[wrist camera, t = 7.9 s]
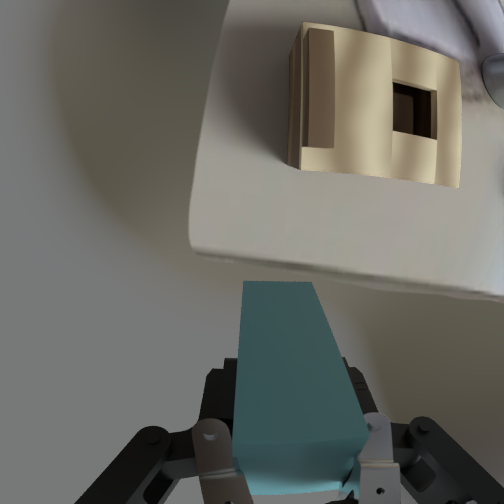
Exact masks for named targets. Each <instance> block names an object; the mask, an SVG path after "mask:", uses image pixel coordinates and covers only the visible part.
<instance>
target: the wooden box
mask: <svg viewBox="0 0 504 504" xmlns="http://www.w3.org/2000/svg"><path fill="white" fill-rule="evenodd" d="M392 85H393V131H396V132H402V133H407V134H412V135H416V136H421V137H425V138H430V139H431V92H429V91H426V90H422V89H419V88H415V87H412V86H408V85H404V84H400V83H396V82H392ZM300 114H301V28H300V30H299V32H298V35H297V37H296V40H295V42H294V45H293V47H292V50H291V52H290V55H289V122H288V157H287V165H289V166H291V167H294V168H297V169H299V150H300Z"/></svg>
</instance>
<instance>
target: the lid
mask: <svg viewBox="0 0 504 504" xmlns="http://www.w3.org/2000/svg"><path fill="white" fill-rule="evenodd" d="M392 82H396V83H400V84H404V85H408V86H412V87H415V88H419V89H422V90H426V91H429V92H431V139H430V138H425V137H421V136H416V135H412V134H407V133H402V132H396V131H393V85H392ZM461 147H462V102H461V84H460V72H459V62H458V61H456V60H453V59H451V58H448V57H446V56H443V55H441V54H438V53H435V52H433V51H430V50H427V49H424V48H421V47H418V46H415V45H412V44H409V43H406V42H402V41H399V40H395V39H392V38H388V37H384V36H380V35H376V34H372V33H368V32H363V31H358V30H353V29H348V28H343V27H337V26H331V25H324V24H316V23H308V22H302V25H301V114H300V150H299V170H308V171H323V172H336V173H348V174H359V175H369V176H378V177H386V178H395V179H402V180H410V181H417V182H424V183H430V184H437V185H443V186H449V187H454V188H459V179H460V166H461Z"/></svg>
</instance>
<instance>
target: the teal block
mask: <svg viewBox="0 0 504 504" xmlns="http://www.w3.org/2000/svg"><path fill="white" fill-rule="evenodd" d="M369 436H370V433H369V430H368V427H367V425H366V422H365V419H364V416H363V413H362V410H361V408H360V405H359V402H358V399H357V396H356V394H355V391H354V388H353V386H352V383H351V380H350V378H349V375H348V372H347V370H346V367H345V364H344V362H343V359H342V356H341V354H340V352H339V349H338V346H337V344H336V341H335V338H334V336H333V333H332V331H331V328H330V326H329V323H328V321H327V318H326V316H325V314H324V311H323V308H322V306H321V304H320V301H319V299H318V296H317V294H316V291H315V289H314V287H313V284H312V282H280V281H278V282H277V281H244V282H243V293H242V308H241V321H240V336H239V348H238V362H237V377H236V391H235V406H234V421H233V436H232V452H233V457H237V460H238V463H239V466H240V469H241V470H242V471H243V473H244V475H245V478H246V482H247V485H248V488H249V491H250V494H251V495H274V494H294V493H307V492H318V491H326V490H333V489H339V484H340V480H341V479H342V477H343V476H347V475H348V474H349V472H350V470H351V469H352V467H353V462H354V456H355V454H356V452H357V450H361V449H363V447H364V446H365V444H366V442H367V440H368V438H369Z"/></svg>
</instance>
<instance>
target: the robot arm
mask: <svg viewBox="0 0 504 504" xmlns="http://www.w3.org/2000/svg"><path fill="white" fill-rule="evenodd" d="M482 74H483V79H484V83H485V86H486V88H487V91H488V92H489V94H490V96H491V98H492V99H493V100H494V102H495V103H496V104H497V105H499V106H500V107H501V108H504V53H502V54H498V55H494V56H490V57H487V58H486V59H485V60H484V62H483V67H482ZM342 359H343V362H344V364H345V367H346V370H347V372H348V375H349V378H350V380H351V383H352V386H353V388H354V391H355V394H356V396H357V399H358V402H359V405H360V408H361V410H362V413H363V416H364V419H365V422H366V425H367V427H368V430H369V433H370V436H369V438H368V440H367V442H366V444H365V446H364V447H363V449H361V450H357V452H356V454H355V456H354V462H353V467H352V469H351V470H350V472H349V474H348V475H347V476H343V477H342V479H341V480H340V484H339V491H338V495H337V497H336V500H335V501H331V502H329V503H326V504H401V487H400V483H401V484H402V485H403V486H404V487H405V489H406V490H407V491H408V492H409V493H410V495H411V496H412V497H413V498H414V499H415V500H416V502H417V503H418V504H504V488H503V487H502V486H501V485H500V484H499V483H498V482H497V481H496V480H495V479H494V478H493V477H492V476H491V475H490V474H489V473H488V472H487V471H486V470H485V469H484V468H483V467H482V466H481V465H479V464H478V463H477V462H476V461H475V460H474V459H473V458H472V457H471V456H470V455H469V454H468V453H467V452H466V451H465V450H464V449H463V448H462V447H461V446H460V445H459V444H458V443H457V442H456V441H454V440H453V439H452V438H451V437H450V436H449V435H448V434H447V433H446V432H445V431H444V430H443V429H442V428H441V427H440V426H439V425H438V424H437V423H436V422H435V421H434V420H432V419H430V418H428V417H416V418H415V419H413V420H412V421H411V422H410V424H398V423H392V422H390V421H389V419H388V418H387V417H386V416H384V415H383V414H380V413H379V412H378V410H377V408H376V405H375V403H374V400H373V398H372V395H371V393H370V391H369V390H368V386H367V383H366V381H365V379H364V376H363V374H362V373H361V372H360V371H359V370H358V369H357V368H356V367H349V366H348V364H347V361H346V359H345V357H342ZM237 362H238V358H225V360H224V367H223V368H224V369H214V368H213V369H212V370H211V371H210V373H209V374H208V375H207V376H206V382H205V387H204V393H203V398H202V403H201V409H200V414H199V419H198V421H197V423H196V424H195V425H194V426H193V427H192V428H190V429H188V430H186V431H182V432H174V433H168V431H166V430H165V429H164V428H162V427H158V426H148V427H145V428H142V429H141V430H140V431H138V432H137V434H136V435H135V436H134V437H133V438H132V439H131V441H130V442H129V443H128V444H127V445H126V446H125V447H124V449H123V450H122V451H121V452H120V453H119V454H118V456H117V457H116V458H115V459H114V460H113V461H112V462H111V464H110V465H109V466H108V467H107V468H106V469H105V470H104V471H103V472H102V474H101V475H100V476H99V477H98V478H97V479H96V480H95V481H94V483H93V484H92V485H91V486H90V487H89V488H88V489H87V490H86V492H84V494H83V495H82V496H81V497H80V498H79V499H78V500H77V501H76V502H75V503H74V504H164V502H165V501H166V499H167V498H168V496H169V495H170V493H171V492H172V491H173V489H174V488H175V486H176V485H177V483H178V482H179V480H180V479H181V478H188V477H194V476H199V481H200V486H201V491H202V495H203V500H204V504H254V503H253V500H252V497H251V494H250V491H249V488H248V485H247V482H246V478H245V475H244V473H243V471H242V470H241V469H240V466H239V463H238V460H237V457H233V452H232V436H233V421H234V406H235V391H236V377H237ZM431 468H432V469H433V470H432V469H431Z"/></svg>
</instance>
